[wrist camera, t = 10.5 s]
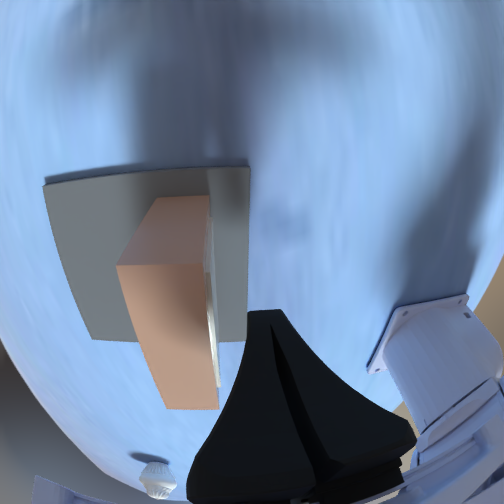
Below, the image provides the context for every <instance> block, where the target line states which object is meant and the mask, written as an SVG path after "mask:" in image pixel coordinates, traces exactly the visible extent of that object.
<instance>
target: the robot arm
mask: <svg viewBox="0 0 504 504" xmlns="http://www.w3.org/2000/svg"><path fill="white" fill-rule="evenodd" d="M468 300H469V296H468V295H467V294H463V295H459V296H454V297H449V298H445V299H440V300H435V301H430V302H424V303H419V304H413V305H408V306H402V307H398V308H397V309H396V310H395V311H394V313H393V315H392V317H391V320H390V322H389V324H388V327H387V329H386V331H385V333H384V336H383V338H382V340H381V342H380V344H379V346H378V348H377V350H376V352H375V354H374V356H373V358H372V360H371V362H370V364H369V366H368V368H367V373H368V374H374V373H378V372H382V371H385V370H388V371H389V372H390V374H391V376H392V378H393V380H394V382H395V384H396V386H397V388H398V390H399V392H400V394H401V396H402V398H403V400H404V402H405V404H406V406H407V408H408V410H409V412H410V414H411V416H412V418H413V420H414V423H415V425H416V427H417V429H418V431H419V433H420V435H421V436H420V437H418V438H416V436H415V434H414V432H413V429H412V427H411V426H410V424H409V422H408V420H406V419H404V418H402V417H399V416H398V415H395V414H393V413H391V412H389V411H387V410H385V409H383V408H382V407H380V406H378V405H377V404H375V403H373V402H372V401H370V400H369V399H367V398H366V397H364V396H363V395H362V394H360V393H359V392H357V391H356V390H354V389H353V388H352V387H350V386H349V385H348V384H347V383H345V382H344V381H343V380H342V379H341V378H339V377H338V376H337V375H336V374H335V373H334V372H333V371H332V370H331V369H330V368H328V367H327V366H326V365H325V364H324V363H323V361H322V360H321V359H320V358H319V357H318V356H317V355H316V354H315V353H314V352H313V351H312V350H311V348H310V347H309V346H308V345H307V344H306V342H305V341H304V340H303V339H302V338H301V336H300V335H299V334H298V332H297V331H296V330H295V328H294V327H293V326H292V324H291V323H290V321H289V320H288V319H287V317H286V316H285V314H284V312H283V311H282V310H281V309H274V310H258V311H249V312H248V313H247V336H246V343H245V348H244V353H243V357H242V360H241V364H240V367H239V371H238V374H237V377H236V379H235V382H234V385H233V387H232V390H231V392H230V395H229V397H228V399H227V402H226V404H225V406H224V408H223V410H222V412H221V414H220V416H219V418H218V420H217V422H216V424H215V425H214V427H213V429H212V431H211V433H210V434H209V436H208V438H207V439H206V441H205V442H204V444H203V445H202V447H201V448H200V450H199V451H198V453H197V454H196V456H195V459H194V461H193V464H192V466H191V469H190V472H189V474H188V478H187V483H186V493H187V500H189V501H190V502H192V503H193V504H364V503H367V502H370V501H373V500H375V499H378V498H380V497H383V496H385V495H388V494H390V493H392V492H395V491H397V490H399V489H400V491H399V493H398V495H397V496H396V497H393V498H391V499H389V500H386V501H384V502H381V503H379V504H504V375H503V376H502V377H501V374H502V370H503V354H502V350H501V348H500V345H499V344H498V342H497V341H496V339H495V338H494V337H493V336H492V334H491V333H490V332H489V331H488V329H487V328H486V327H485V326H484V325H483V323H482V322H481V321H480V320H479V319H478V318H477V316H476V315H475V314H474V313H473V312H472V311H471V310H470V308H469V307H468V306H467V305H466V304H467V302H468ZM500 377H501V378H500ZM415 445H416V449H415V450H414V452H413V455H412V459H411V465H410V470H409V471H406V472H404V473H401V471H400V468H399V467H400V466H401V465H402V462H401V459H400V457H401V456H402V455H404V454H405V453H406V452H408V451H409V450H410V449H412V448H413V447H414V446H415ZM401 488H402V489H401ZM31 504H116V503H112V502H108V501H104V500H100V499H96V498H92V497H89V496H85V495H83V494H79V493H76V492H74V491H72V490H71V489H69V488H67V487H64V486H62V485H60V484H57V483H55V482H52V481H49V480H47V479H45V478H42V477H40V476H38V475H36V476H35V481H34V487H33V494H32V502H31Z"/></svg>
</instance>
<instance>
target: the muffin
mask: <svg viewBox="0 0 504 504" xmlns="http://www.w3.org/2000/svg"><path fill="white" fill-rule="evenodd" d="M139 480H140V482H141V483H142V484H143V485H144V487H145V489H146V490H147V494H148V495H149V496H150V497H153V498H157V500H158V499H166V498H167V497H168V496H169V493H170V492H171V491H172V489H174V488H175V487H176V486H177V482H176V480H175V477H174V475H173V473H172V471H171V470H170V468H169V466H168V465H167V464H164V463H161V462H149V463H148V464H147V466H146V467H145V468H144V470H143V471H142V472H141V475H140V477H139Z"/></svg>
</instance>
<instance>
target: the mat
mask: <svg viewBox="0 0 504 504" xmlns="http://www.w3.org/2000/svg"><path fill="white" fill-rule="evenodd" d="M42 187H43V193H44V198H45V203H46V207H47V212H48V216H49V221H50V225H51V229H52V232H53V236H54V240H55V243H56V247H57V250H58V254H59V257H60V260H61V263H62V266H63V269H64V272H65V275H66V278H67V281H68V283H69V286H70V289H71V292H72V294H73V297H74V299H75V302H76V304H77V307H78V309H79V311H80V314H81V316H82V318H83V321H84V323H85V325H86V327H87V330H88V332H89V334H90V336H91V338H92V339H93V340H106V341H123V342H139V341H138V338H137V335H136V332H135V330H134V327H133V324H132V321H131V318H130V315H129V311H128V308H127V305H126V302H125V298H124V295H123V291H122V288H121V284H120V281H119V277H118V273H117V269H116V264H117V262H118V260H119V259H120V257H121V255H122V253H123V251H124V250H125V248H126V246H127V245H128V243H129V241H130V240H131V238H132V236H133V235H134V233H135V231H136V230H137V228H138V226H139V225H140V223H141V222H142V220H143V218H144V217H145V215H146V214H147V212H148V211H149V209H150V207H151V206H152V204H153V203H154V201H155V200H156V198H160V197H178V196H201V195H209V197H210V218H213V237H214V259H215V278H216V295H217V310H218V326H219V342H239V341H246V336H247V295H248V248H249V204H250V166H226V167H194V168H175V169H161V170H148V171H137V172H127V173H118V174H109V175H101V176H94V177H87V178H80V179H74V180H67V181H62V182H56V183H50V184H46V185H44V186H42Z"/></svg>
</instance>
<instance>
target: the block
mask: <svg viewBox="0 0 504 504" xmlns="http://www.w3.org/2000/svg"><path fill="white" fill-rule="evenodd" d="M116 269H117V273H118V277H119V281H120V284H121V288H122V291H123V295H124V298H125V302H126V305H127V308H128V311H129V315H130V318H131V321H132V324H133V327H134V330H135V332H136V335H137V338H138V341H139V344H140V346H141V349H142V352H143V354H144V357H145V360H146V362H147V365H148V367H149V370H150V372H151V375H152V377H153V379H154V382H155V384H156V386H157V389H158V391H159V393H160V395H161V398H162V400H163V402H164V404H165V406H166V408H167V409H181V410H216V409H219V391H218V387H221V381H220V357H219V326H218V310H217V295H216V278H215V259H214V237H213V218H210V197H209V195H201V196H178V197H160V198H156V200H155V201H154V203H153V204H152V206H151V207H150V209H149V211H148V212H147V214H146V215H145V217H144V218H143V220H142V222H141V223H140V225H139V226H138V228H137V230H136V231H135V233H134V235H133V236H132V238H131V240H130V241H129V243H128V245H127V246H126V248H125V250H124V251H123V253H122V255H121V257H120V259H119V260H118V262H117V264H116Z"/></svg>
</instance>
